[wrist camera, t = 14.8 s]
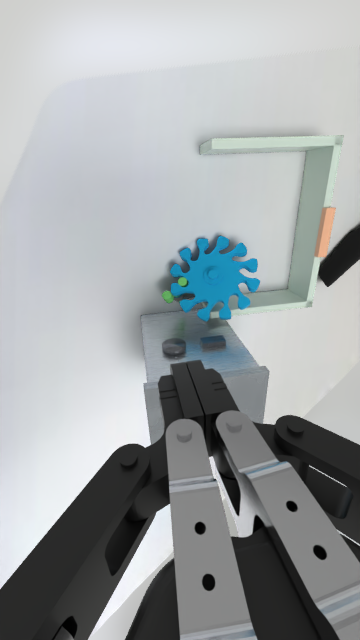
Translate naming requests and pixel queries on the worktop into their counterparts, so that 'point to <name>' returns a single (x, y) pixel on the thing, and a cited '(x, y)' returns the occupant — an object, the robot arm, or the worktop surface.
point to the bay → (310, 221)
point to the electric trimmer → (341, 258)
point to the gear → (212, 279)
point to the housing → (212, 349)
